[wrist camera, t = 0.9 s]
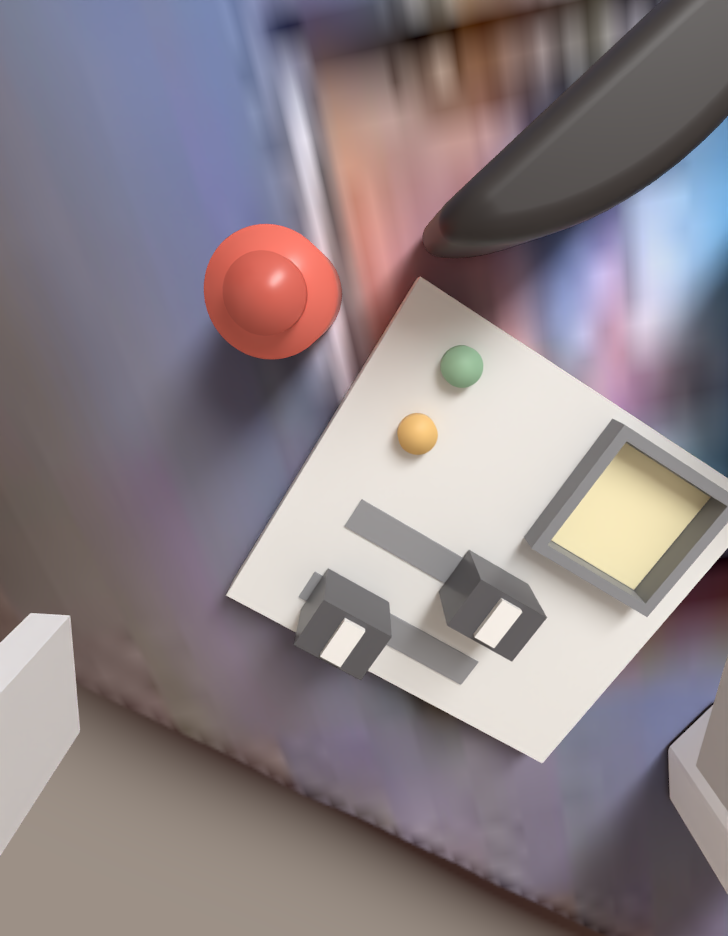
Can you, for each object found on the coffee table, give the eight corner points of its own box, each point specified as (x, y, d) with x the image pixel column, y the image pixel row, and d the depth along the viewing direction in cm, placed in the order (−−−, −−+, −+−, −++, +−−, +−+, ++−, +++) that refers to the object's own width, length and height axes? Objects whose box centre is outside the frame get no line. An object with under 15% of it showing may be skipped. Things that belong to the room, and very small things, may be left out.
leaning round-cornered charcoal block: (469, 307, 30) (512, 313, 21) (412, 237, 30) (431, 211, 20) (740, 67, 27) (925, -45, 18) (685, -20, 26) (852, -184, 17)
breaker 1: (300, 609, 33) (292, 648, 29) (327, 568, 32) (323, 602, 29) (361, 641, 34) (360, 683, 30) (389, 602, 33) (392, 640, 29)
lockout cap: (228, 310, 30) (171, 317, 22) (274, 222, 29) (235, 190, 20) (311, 361, 31) (289, 387, 22) (360, 277, 30) (357, 270, 21)
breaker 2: (438, 591, 33) (447, 629, 29) (469, 549, 32) (482, 582, 28) (497, 624, 33) (513, 665, 30) (528, 584, 33) (548, 620, 29)
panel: (233, 578, 35) (219, 609, 32) (417, 277, 30) (423, 275, 27) (533, 739, 38) (549, 782, 35) (742, 491, 33) (785, 513, 30)
